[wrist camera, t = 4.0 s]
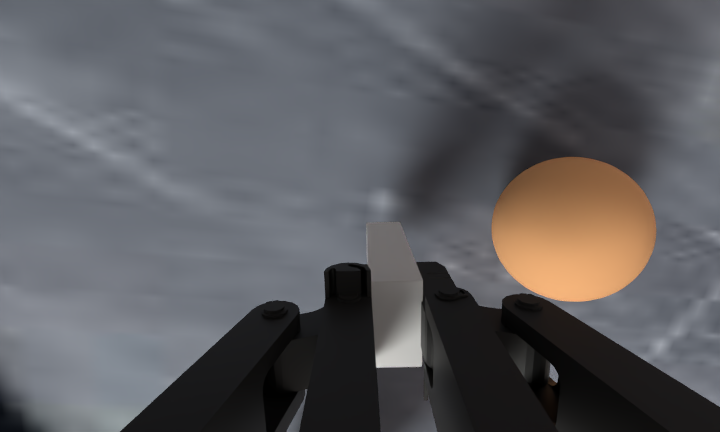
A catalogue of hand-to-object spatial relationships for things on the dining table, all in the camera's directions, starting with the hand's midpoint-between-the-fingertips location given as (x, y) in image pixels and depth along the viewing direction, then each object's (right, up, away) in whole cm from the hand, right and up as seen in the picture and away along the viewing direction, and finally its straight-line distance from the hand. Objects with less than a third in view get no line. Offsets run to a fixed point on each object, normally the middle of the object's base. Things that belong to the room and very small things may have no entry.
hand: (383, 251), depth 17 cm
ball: (+8, +1, -1) cm, 8 cm away
